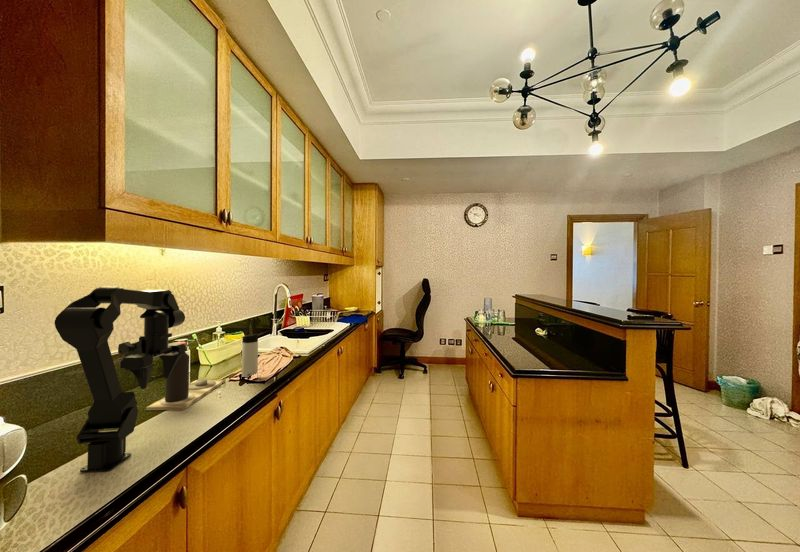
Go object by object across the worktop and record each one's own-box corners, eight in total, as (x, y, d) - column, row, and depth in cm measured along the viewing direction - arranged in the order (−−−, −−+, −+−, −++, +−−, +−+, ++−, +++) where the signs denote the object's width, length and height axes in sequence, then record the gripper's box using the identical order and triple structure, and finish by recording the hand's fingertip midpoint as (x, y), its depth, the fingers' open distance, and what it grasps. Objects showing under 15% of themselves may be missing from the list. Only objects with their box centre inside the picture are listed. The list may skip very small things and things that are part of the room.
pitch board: (183, 409, 101) (183, 401, 101) (146, 410, 100) (146, 402, 100) (224, 382, 128) (224, 375, 128) (195, 382, 127) (195, 375, 127)
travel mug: (251, 382, 128) (252, 335, 128) (238, 380, 129) (239, 334, 129) (261, 377, 134) (261, 333, 134) (248, 376, 135) (249, 332, 136)
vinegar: (162, 399, 106) (163, 343, 106) (185, 393, 111) (186, 340, 111) (167, 404, 101) (169, 346, 102) (191, 398, 107) (192, 342, 107)
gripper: (152, 326, 98) (151, 373, 98) (98, 337, 80) (97, 395, 79) (187, 326, 99) (186, 373, 99) (142, 337, 80) (141, 395, 80)
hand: (155, 383), depth 89 cm, fingers open, 9 cm apart
